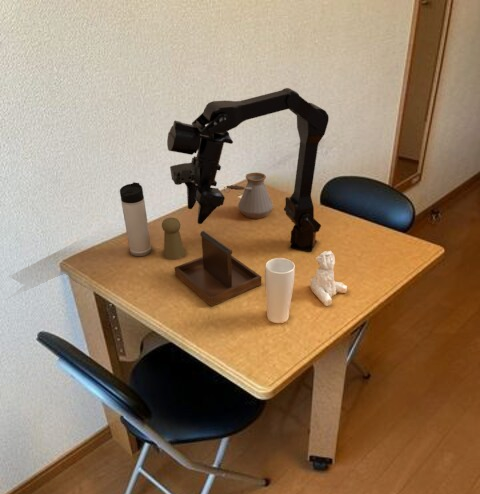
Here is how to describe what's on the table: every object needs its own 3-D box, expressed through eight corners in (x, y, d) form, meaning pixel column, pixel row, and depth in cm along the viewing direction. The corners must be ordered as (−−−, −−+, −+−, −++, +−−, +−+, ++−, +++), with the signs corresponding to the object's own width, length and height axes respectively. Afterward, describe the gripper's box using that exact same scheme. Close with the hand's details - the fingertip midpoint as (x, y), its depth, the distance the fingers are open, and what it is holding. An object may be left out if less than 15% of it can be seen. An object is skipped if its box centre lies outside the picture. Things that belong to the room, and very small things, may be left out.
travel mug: (155, 247, 149) (146, 183, 136) (145, 258, 144) (135, 193, 131) (137, 244, 150) (126, 180, 138) (126, 254, 145) (114, 190, 133)
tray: (223, 256, 143) (221, 218, 136) (261, 284, 132) (262, 244, 124) (175, 275, 136) (170, 236, 129) (211, 306, 125) (208, 265, 117)
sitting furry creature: (327, 308, 124) (332, 267, 116) (299, 294, 128) (302, 254, 121) (348, 292, 129) (354, 251, 122) (321, 279, 134) (325, 240, 126)
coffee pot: (251, 203, 171) (251, 160, 162) (279, 211, 166) (281, 167, 157) (213, 227, 158) (210, 182, 149) (242, 237, 153) (241, 191, 143)
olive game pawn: (181, 260, 143) (177, 225, 136) (161, 258, 144) (156, 223, 137) (187, 249, 147) (184, 215, 140) (167, 247, 148) (163, 214, 141)
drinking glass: (262, 310, 123) (263, 258, 114) (289, 308, 124) (292, 256, 114) (265, 327, 118) (267, 274, 109) (294, 325, 118) (297, 272, 109)
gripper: (167, 139, 125) (156, 198, 133) (187, 165, 111) (173, 228, 119) (208, 147, 130) (195, 203, 138) (232, 172, 116) (216, 233, 124)
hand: (194, 216), depth 130 cm, fingers open, 9 cm apart
